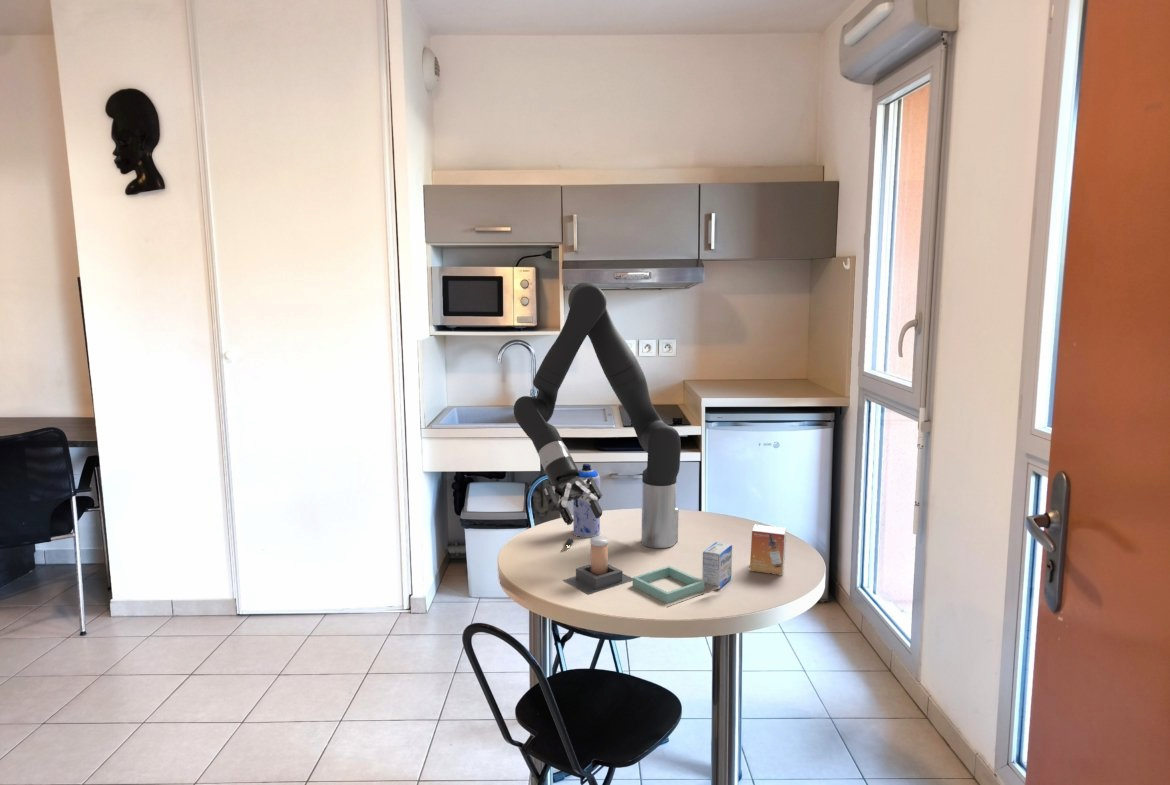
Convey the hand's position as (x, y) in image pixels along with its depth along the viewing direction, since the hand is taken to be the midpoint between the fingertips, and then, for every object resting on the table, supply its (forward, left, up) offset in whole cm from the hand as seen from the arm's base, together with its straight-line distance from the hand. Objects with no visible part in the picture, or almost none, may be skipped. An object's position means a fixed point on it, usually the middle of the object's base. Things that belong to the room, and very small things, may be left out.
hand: (585, 519), depth 173 cm
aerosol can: (-19, -25, -15) cm, 34 cm away
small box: (-39, +23, -15) cm, 48 cm away
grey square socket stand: (0, +5, -14) cm, 15 cm away
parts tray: (-10, +18, -14) cm, 25 cm away
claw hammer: (-4, -14, -15) cm, 21 cm away
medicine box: (-23, +21, -15) cm, 35 cm away
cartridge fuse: (0, +5, -13) cm, 14 cm away
